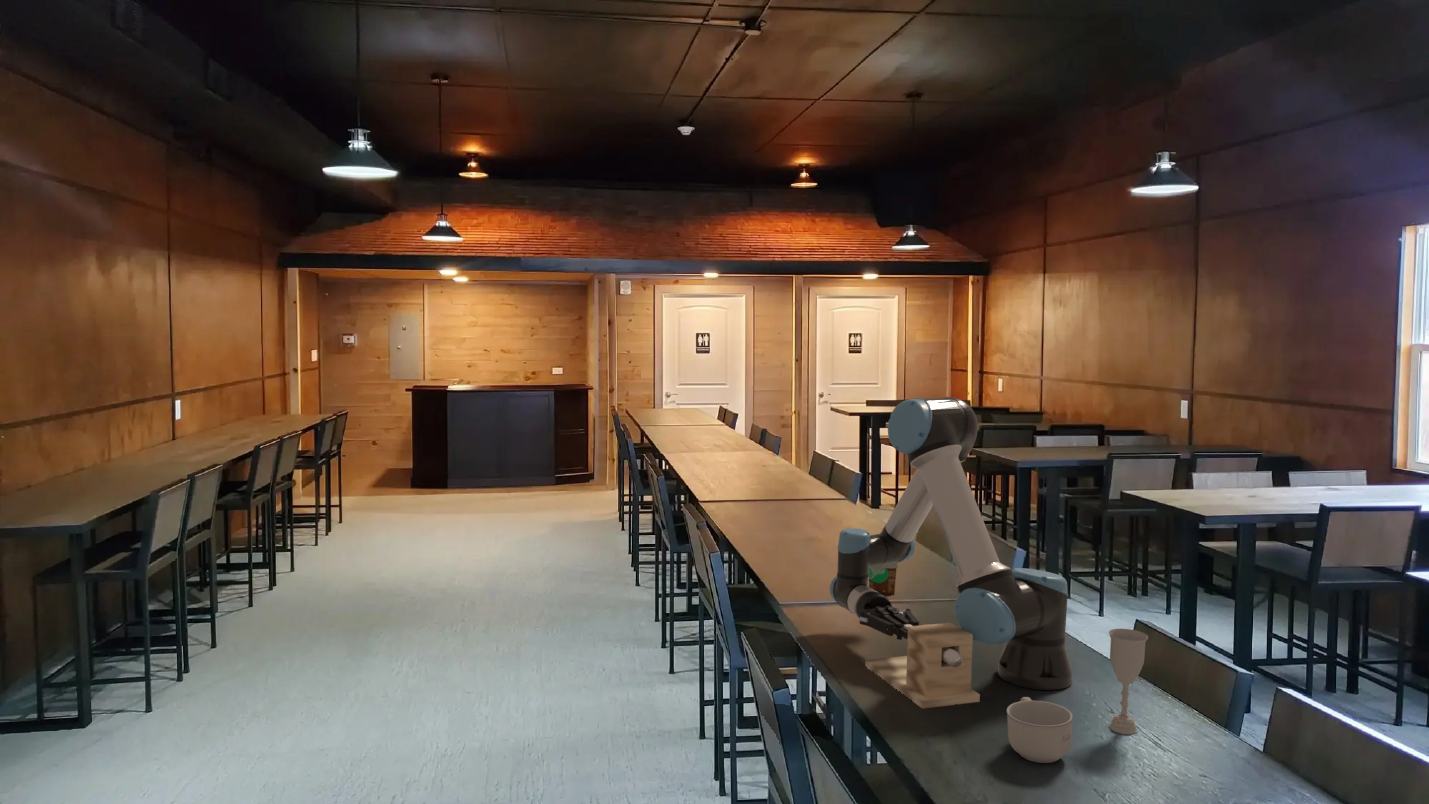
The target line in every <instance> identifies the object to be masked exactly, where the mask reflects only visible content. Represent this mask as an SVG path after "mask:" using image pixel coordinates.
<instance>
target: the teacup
mask: <svg viewBox="0 0 1429 804" xmlns="http://www.w3.org/2000/svg"><path fill="white" fill-rule="evenodd" d="M1006 715H1007V717H1006V718H1007V719H1006V720H1007V721H1006V722H1007V736H1008V741H1009V744H1010V746H1011V747H1012V749H1013V750H1014V751H1015V752H1016V753H1018V754H1019V755H1020V756H1021V758H1024V759H1025V760H1028V761H1030V762H1033V763H1039V764H1051V763H1054V762H1057V761H1059V760H1060V759H1061V758H1063V757H1065V756H1066V755H1067V754H1068V752H1069V751H1070V749H1071V745H1072V737H1073V736H1072V734H1073V733H1072V732H1073V725H1072V724H1073V714H1072V712H1071V711H1070V710H1069V709H1067V708H1066V707H1064V706H1063V705H1060V704H1057V703H1054V702H1050V701H1043V700H1032V699H1031V697H1029V696H1023V697H1021V698H1020V701H1017V702H1016V701H1015V702H1013V703H1011V704H1009V705H1008V706H1007V708H1006Z"/></svg>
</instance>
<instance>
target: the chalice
mask: <svg viewBox="0 0 1429 804" xmlns="http://www.w3.org/2000/svg"><path fill="white" fill-rule="evenodd" d="M1107 632H1108V635H1109V637H1110V649H1109V650H1110V651H1109V659H1110V663H1111V667H1112V669H1113V671H1114V674H1115V676H1116V679H1117V681H1118V682H1119V683H1121V684H1122V690H1121V692H1120V694H1121V698H1122V699H1121V700H1120V701H1119V704H1120V705H1121V712H1119V713H1116V714H1115V715H1114V716H1113V717H1112V720H1110V721H1111V722H1110V724H1108V728H1109V729H1110V730H1111V731H1112V732H1115V733H1118V734H1121V735H1134V734H1133V733H1136V731H1137V730H1138V728H1137V725H1136V723H1135V719H1134V718H1133V716H1131V715H1130V714H1129V713H1128V707H1129V706H1130V705H1131V704H1130V702H1129V700H1128V698H1129V696H1130V695H1131V694H1130V692H1129V685H1132V684H1134V683H1135V681H1136V679H1137V678H1138V676H1139V675H1140V673H1141V670H1142V668H1143V666H1144V663H1145V652H1146V642H1147V641H1148V639H1149V635H1148V634H1146V633H1145V632H1142V631H1139V630H1136V629H1131V628H1113V629H1109V631H1107ZM1136 734H1137V733H1136Z"/></svg>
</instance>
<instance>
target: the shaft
mask: <svg viewBox="0 0 1429 804" xmlns="http://www.w3.org/2000/svg"><path fill="white" fill-rule="evenodd" d="M920 625H930V624H928V623H924V624H923V623H922V624H919V626H920ZM941 660H942V661H944V662H946V663H947V664H949V665H950V666H952V667H958V666H960V665H961V663H962V660H963V658H962V655H961V654H960V653H959V652H957V651H955V650H953V649H952V648H950V647H942V658H941Z"/></svg>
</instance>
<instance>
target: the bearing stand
mask: <svg viewBox="0 0 1429 804" xmlns="http://www.w3.org/2000/svg"><path fill="white" fill-rule="evenodd" d="M919 625H920V626H909V627H908V640H907V645H906V647H907V650H906V655H901V656H892V657H883V658H882V657H881V658H873V659H865V662H864V664H865V665H864V667H865V666H866V667H867V668H866V667H865V668H866V669H868V670H869V669H870V670H871V671H870V670H869V671H870V672H872V671H873V672H874V673H875V674H874V673H873V672H872V673H873V674H874V675H876V674H877V675H878V677H879V676H880V677H881V678H882V679H881V678H880V677H879V678H880V679H881V680H883V679H884V680H885V681H886V682H885V681H884V680H883V681H884V682H885V683H887V684H888V685H889V684H890V685H889V686H891V687H892V686H893V687H892V688H893V689H894V690H896V689H897V691H898V692H899V691H900V692H901V694H902V695H903V694H904V695H905V696H904V695H903V696H904V697H906V698H907V697H908V698H907V699H908V700H910V699H911V700H912V703H914V704H916V705H917V706H918V707H919V708H921V709H930V708H932V709H933V708H938V707H946V706H947V707H948V706H955V705H956V704H957V705H963V704H972V703H979V702H980V701H981V700H980V699H981V698H980V697H981V694H980V693H978V692H977V691H975V690H974V689H972V688H971V687H972V671H973V670H972V669H973V668H972V667H973V665H972V664H973V663H972V662H973V641H974V640H973V634H971V633H969V632H967V631H965V630H963V629H961V627H960V626H959V625H956V624H954V623H952V622H943V623H933V624H929V625H922V624H919ZM942 647H950V648H952V649H953V650H955V651H957V652H959V653H960V654H961V655H962V658H963V660H962V663H961V665H960V666H958V667H952V666H950V665H949V664H947V663H946V662H944V661H942V660H941V658H942ZM877 675H876V676H877ZM900 692H899V693H900ZM911 700H910V701H911Z"/></svg>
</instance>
